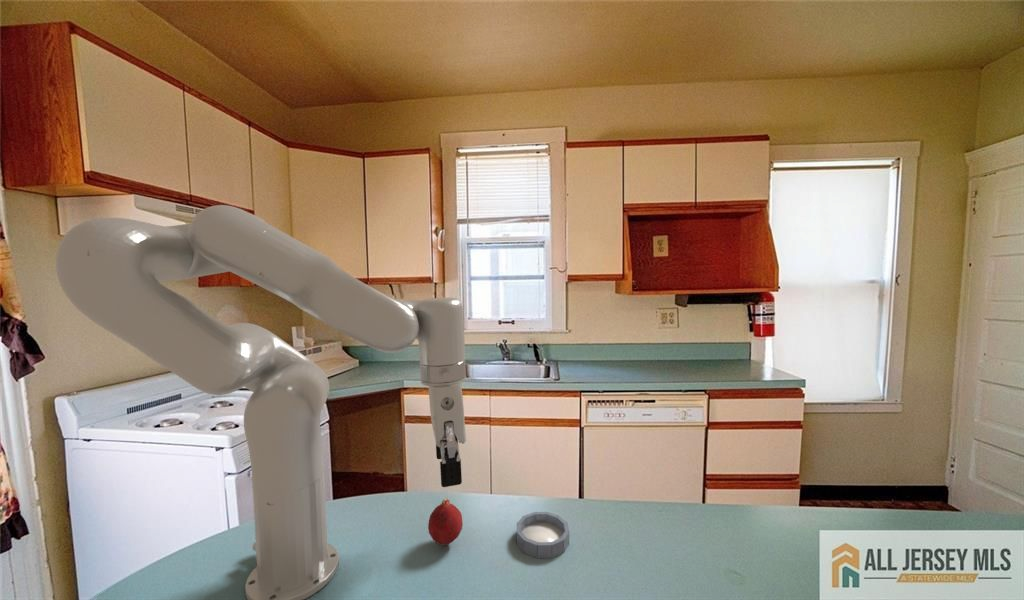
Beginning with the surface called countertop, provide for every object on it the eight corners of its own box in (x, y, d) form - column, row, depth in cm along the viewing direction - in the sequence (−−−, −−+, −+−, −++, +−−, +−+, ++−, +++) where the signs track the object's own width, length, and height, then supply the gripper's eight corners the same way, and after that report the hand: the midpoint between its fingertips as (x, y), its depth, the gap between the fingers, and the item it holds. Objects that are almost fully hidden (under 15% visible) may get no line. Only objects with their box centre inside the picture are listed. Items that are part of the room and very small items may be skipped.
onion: (456, 558, 64) (455, 511, 64) (423, 554, 66) (422, 507, 65) (467, 535, 70) (466, 492, 70) (436, 531, 71) (435, 488, 71)
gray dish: (507, 546, 67) (507, 534, 67) (531, 518, 75) (531, 506, 75) (555, 565, 63) (555, 552, 63) (576, 532, 71) (576, 521, 70)
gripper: (474, 382, 59) (479, 493, 60) (458, 359, 75) (463, 445, 77) (422, 388, 57) (428, 502, 58) (418, 362, 73) (423, 451, 75)
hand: (448, 470), depth 67 cm, fingers open, 9 cm apart
